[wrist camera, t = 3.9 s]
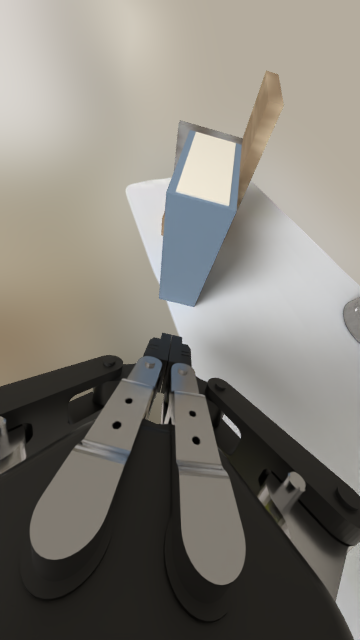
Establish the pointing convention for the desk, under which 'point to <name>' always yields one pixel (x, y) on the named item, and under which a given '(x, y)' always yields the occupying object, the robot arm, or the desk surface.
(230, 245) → the desk surface
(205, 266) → the book
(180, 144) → the shelf
